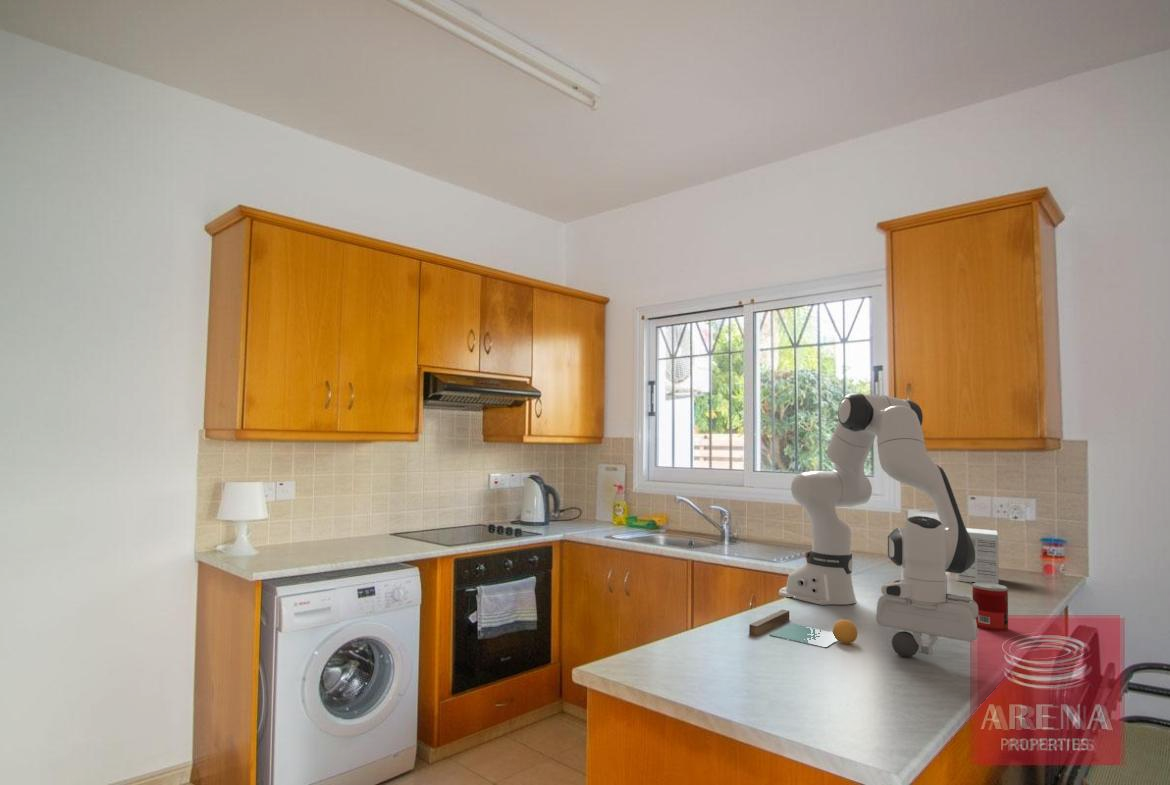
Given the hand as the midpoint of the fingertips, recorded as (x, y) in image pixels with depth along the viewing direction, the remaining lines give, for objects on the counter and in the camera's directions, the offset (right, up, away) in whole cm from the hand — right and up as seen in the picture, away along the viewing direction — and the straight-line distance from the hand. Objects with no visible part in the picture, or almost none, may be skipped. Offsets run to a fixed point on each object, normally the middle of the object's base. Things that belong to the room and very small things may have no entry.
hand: (925, 653), depth 149 cm
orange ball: (-14, +1, +11) cm, 18 cm away
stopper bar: (-28, -2, +23) cm, 37 cm away
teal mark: (-21, -2, +16) cm, 27 cm away
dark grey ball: (-3, +1, +2) cm, 4 cm away
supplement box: (+64, -9, +89) cm, 110 cm away
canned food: (+31, -4, +28) cm, 42 cm away
